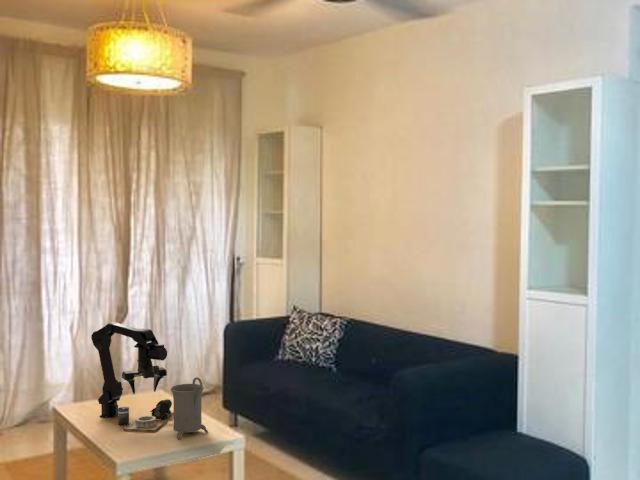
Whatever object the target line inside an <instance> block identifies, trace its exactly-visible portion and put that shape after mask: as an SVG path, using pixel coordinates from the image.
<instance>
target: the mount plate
mask: <svg viewBox="0 0 640 480" xmlns="http://www.w3.org/2000/svg"><path fill="white" fill-rule="evenodd" d="M167 423H168V420H167V419H166V420H160V419H156V417H154V416H152V415H141V416H138V417H136V418H135V420H133V421H132V422H131V423H129V424H128V425H125V427H123V432H140V433H142V432H143V433H157V431H158V430H159V429H161V428H162V427H164V426H165V425H166V424H167Z"/></svg>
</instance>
